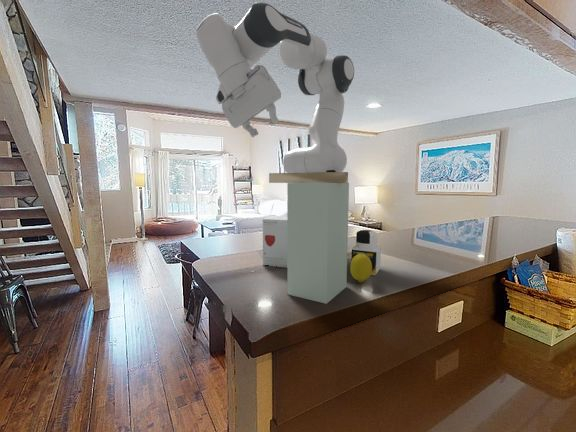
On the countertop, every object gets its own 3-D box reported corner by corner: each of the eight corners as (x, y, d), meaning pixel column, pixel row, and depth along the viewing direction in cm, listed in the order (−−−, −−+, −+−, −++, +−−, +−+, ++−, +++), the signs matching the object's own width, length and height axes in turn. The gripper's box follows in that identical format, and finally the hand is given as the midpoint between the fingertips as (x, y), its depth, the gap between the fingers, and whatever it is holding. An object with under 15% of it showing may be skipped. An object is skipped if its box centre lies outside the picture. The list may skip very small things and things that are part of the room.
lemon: (345, 280, 78) (346, 251, 77) (363, 278, 80) (364, 249, 79) (357, 287, 73) (358, 256, 72) (376, 284, 75) (377, 254, 74)
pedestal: (311, 279, 79) (312, 182, 75) (346, 286, 73) (349, 182, 70) (287, 294, 68) (287, 183, 65) (326, 303, 63) (328, 183, 60)
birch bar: (274, 182, 76) (274, 173, 76) (347, 183, 65) (348, 172, 65) (269, 182, 74) (269, 173, 74) (343, 183, 63) (344, 171, 63)
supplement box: (261, 265, 92) (261, 218, 90) (271, 258, 100) (271, 215, 98) (289, 268, 89) (289, 219, 87) (297, 260, 97) (297, 216, 96)
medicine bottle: (350, 272, 85) (351, 231, 84) (357, 265, 92) (358, 228, 90) (375, 275, 82) (377, 233, 81) (380, 269, 88) (381, 229, 87)
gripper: (270, 58, 71) (296, 111, 74) (229, 95, 86) (252, 138, 90) (252, 63, 67) (281, 119, 71) (212, 101, 83) (238, 145, 86)
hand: (265, 130), depth 80 cm, fingers open, 8 cm apart
